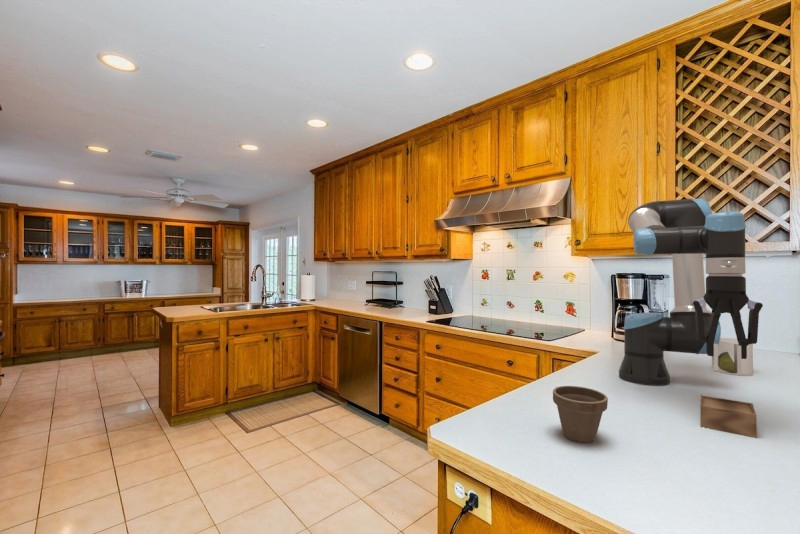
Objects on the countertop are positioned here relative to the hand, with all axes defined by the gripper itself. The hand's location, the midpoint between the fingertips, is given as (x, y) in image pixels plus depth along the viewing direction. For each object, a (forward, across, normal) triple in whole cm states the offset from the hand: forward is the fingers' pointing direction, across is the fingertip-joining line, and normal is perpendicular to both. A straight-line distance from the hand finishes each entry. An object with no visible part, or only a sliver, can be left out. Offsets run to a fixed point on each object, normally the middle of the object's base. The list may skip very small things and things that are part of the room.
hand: (726, 370), depth 94 cm
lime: (+1, 0, 0) cm, 1 cm away
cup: (+14, +15, +67) cm, 70 cm away
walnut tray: (+14, 0, 0) cm, 14 cm away
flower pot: (+14, -31, -25) cm, 42 cm away
